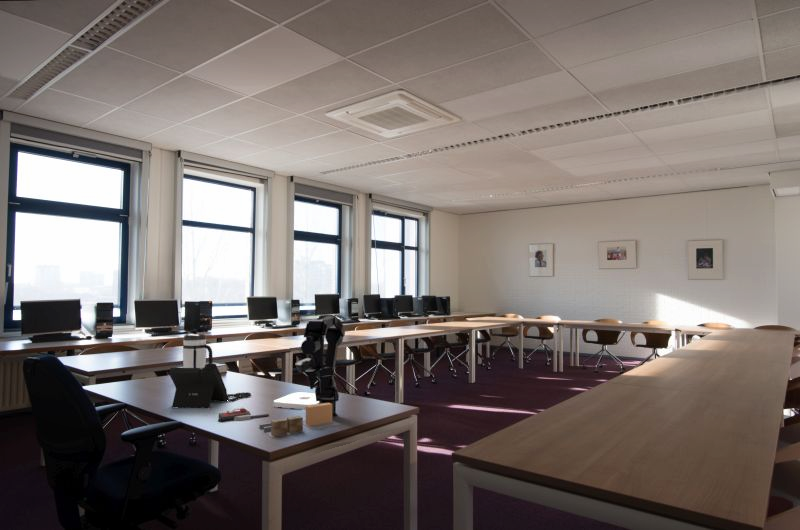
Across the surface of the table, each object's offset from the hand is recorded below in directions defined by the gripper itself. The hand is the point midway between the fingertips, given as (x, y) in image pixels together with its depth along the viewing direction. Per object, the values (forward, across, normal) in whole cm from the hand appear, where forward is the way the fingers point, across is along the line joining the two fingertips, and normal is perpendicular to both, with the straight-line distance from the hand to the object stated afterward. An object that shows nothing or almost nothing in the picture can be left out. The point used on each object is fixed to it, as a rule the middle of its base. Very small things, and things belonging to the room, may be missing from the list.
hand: (316, 391), depth 194 cm
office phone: (+14, -66, -22) cm, 71 cm away
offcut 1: (+12, +5, -17) cm, 22 cm away
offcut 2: (+12, +5, -11) cm, 18 cm away
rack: (+13, 0, -14) cm, 19 cm away
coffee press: (+13, -124, -16) cm, 125 cm away
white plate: (+14, -36, +11) cm, 40 cm away
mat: (+13, +1, +1) cm, 13 cm away
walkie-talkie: (+14, -26, -21) cm, 36 cm away
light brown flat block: (+12, +1, +1) cm, 12 cm away
